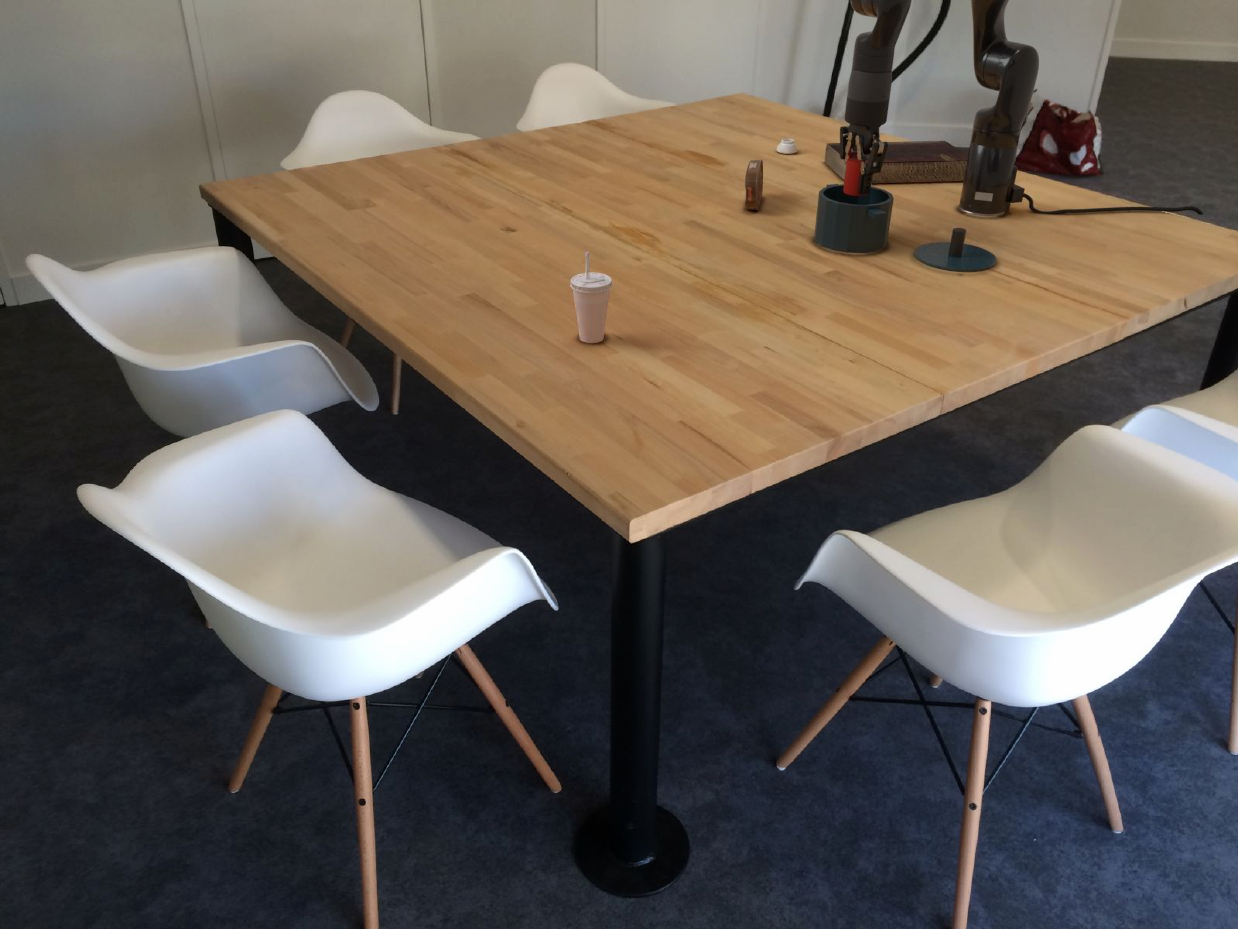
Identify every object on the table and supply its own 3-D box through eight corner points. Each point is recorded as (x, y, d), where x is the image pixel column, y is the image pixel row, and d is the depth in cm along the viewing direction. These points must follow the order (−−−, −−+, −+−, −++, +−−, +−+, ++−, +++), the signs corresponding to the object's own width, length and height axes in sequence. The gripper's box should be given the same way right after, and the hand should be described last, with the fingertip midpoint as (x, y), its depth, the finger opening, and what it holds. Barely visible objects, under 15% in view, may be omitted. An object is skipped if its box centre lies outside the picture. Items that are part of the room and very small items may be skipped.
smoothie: (570, 330, 168) (568, 245, 161) (610, 329, 169) (610, 244, 161) (572, 347, 163) (570, 259, 155) (613, 346, 163) (614, 258, 156)
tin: (756, 215, 218) (759, 174, 214) (741, 214, 219) (744, 173, 215) (763, 194, 231) (766, 155, 227) (748, 193, 232) (751, 154, 227)
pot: (857, 224, 214) (863, 177, 209) (907, 256, 198) (914, 206, 193) (796, 230, 210) (800, 183, 205) (841, 263, 195) (847, 212, 190)
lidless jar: (801, 152, 261) (785, 148, 264) (802, 140, 259) (786, 136, 262) (788, 155, 258) (772, 151, 261) (789, 143, 256) (773, 139, 259)
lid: (965, 244, 204) (971, 214, 201) (1011, 270, 192) (1018, 238, 189) (898, 251, 201) (903, 220, 197) (941, 278, 189) (946, 246, 186)
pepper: (861, 187, 202) (866, 147, 198) (874, 194, 198) (879, 153, 194) (838, 189, 200) (843, 148, 196) (850, 196, 196) (856, 155, 193)
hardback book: (941, 159, 256) (944, 138, 253) (972, 182, 240) (976, 159, 238) (824, 162, 253) (826, 141, 251) (847, 185, 237) (850, 162, 235)
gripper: (907, 102, 185) (894, 199, 194) (867, 86, 197) (856, 177, 206) (869, 105, 183) (857, 202, 192) (830, 88, 195) (821, 180, 204)
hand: (856, 189), depth 199 cm, fingers closed on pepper, 4 cm apart
